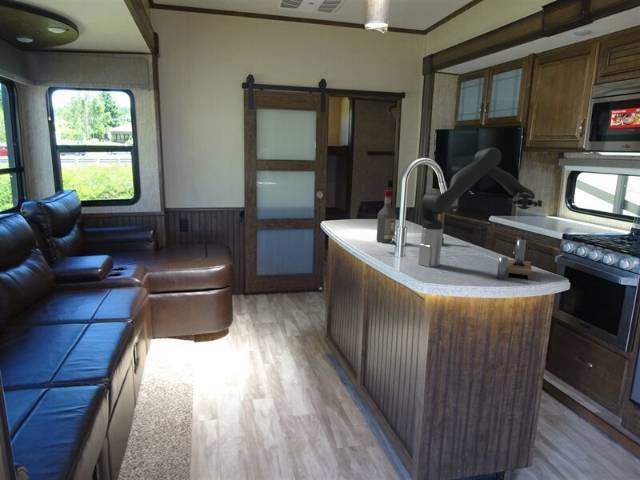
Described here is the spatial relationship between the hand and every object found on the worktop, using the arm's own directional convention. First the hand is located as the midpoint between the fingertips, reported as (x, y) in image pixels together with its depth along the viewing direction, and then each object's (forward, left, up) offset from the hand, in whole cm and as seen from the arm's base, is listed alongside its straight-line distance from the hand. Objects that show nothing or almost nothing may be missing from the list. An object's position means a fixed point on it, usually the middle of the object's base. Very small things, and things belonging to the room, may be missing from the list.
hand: (525, 203), depth 201 cm
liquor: (-6, +76, -30) cm, 82 cm away
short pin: (-24, -5, -30) cm, 39 cm away
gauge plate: (-10, -5, -30) cm, 32 cm away
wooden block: (+15, +57, -30) cm, 67 cm away
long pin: (-10, -5, -30) cm, 32 cm away
